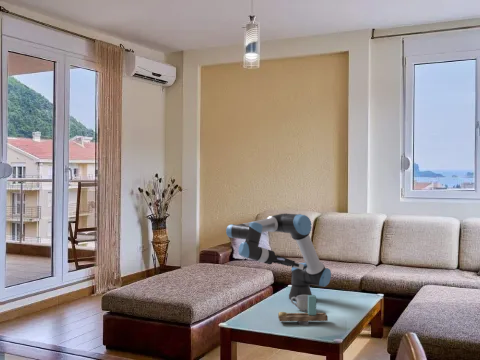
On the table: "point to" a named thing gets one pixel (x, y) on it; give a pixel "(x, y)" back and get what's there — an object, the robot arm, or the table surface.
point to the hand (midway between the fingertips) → (302, 267)
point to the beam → (302, 317)
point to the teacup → (301, 302)
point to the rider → (311, 305)
